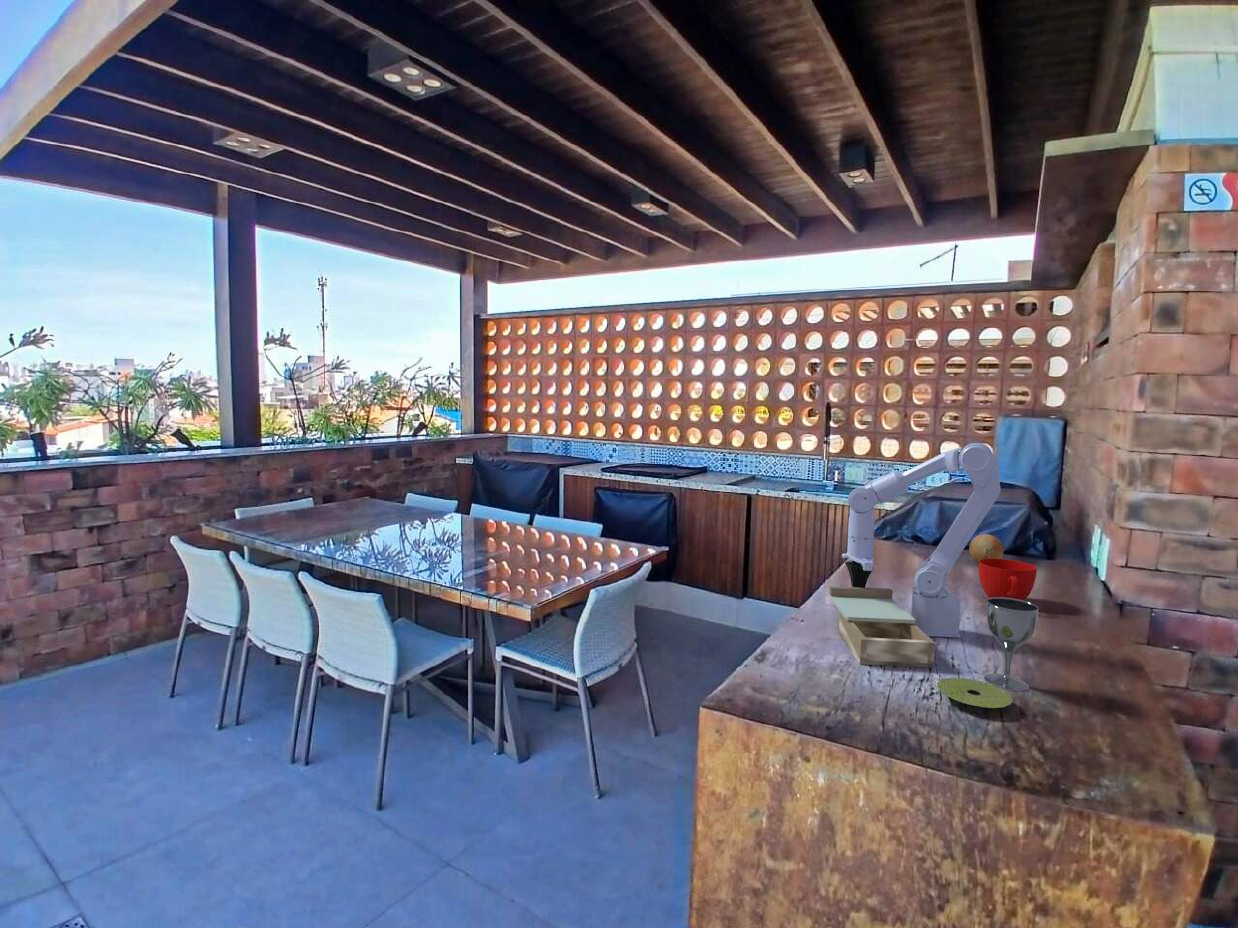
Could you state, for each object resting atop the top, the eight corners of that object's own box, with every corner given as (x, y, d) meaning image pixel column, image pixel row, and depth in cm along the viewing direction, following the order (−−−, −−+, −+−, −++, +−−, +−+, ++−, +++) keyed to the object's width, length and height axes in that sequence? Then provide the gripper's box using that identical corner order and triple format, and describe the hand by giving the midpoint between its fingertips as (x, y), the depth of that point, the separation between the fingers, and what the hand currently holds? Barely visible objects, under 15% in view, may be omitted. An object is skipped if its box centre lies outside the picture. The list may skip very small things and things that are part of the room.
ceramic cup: (983, 609, 156) (986, 571, 155) (972, 591, 171) (975, 556, 170) (1043, 616, 151) (1046, 577, 150) (1027, 597, 166) (1030, 561, 166)
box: (903, 637, 136) (905, 615, 135) (933, 667, 120) (935, 642, 119) (838, 634, 137) (839, 612, 137) (859, 663, 121) (861, 639, 121)
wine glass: (1016, 695, 109) (1022, 613, 107) (972, 677, 116) (977, 600, 114) (1041, 686, 112) (1047, 607, 111) (997, 670, 119) (1003, 594, 118)
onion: (975, 567, 198) (977, 536, 197) (963, 559, 208) (965, 530, 207) (1008, 568, 197) (1010, 538, 196) (994, 561, 206) (996, 532, 205)
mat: (981, 723, 99) (982, 712, 98) (921, 693, 109) (922, 683, 109) (1026, 710, 103) (1027, 699, 103) (965, 683, 113) (966, 672, 113)
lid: (889, 600, 145) (890, 588, 145) (915, 623, 129) (916, 610, 129) (829, 597, 147) (829, 586, 146) (847, 620, 131) (847, 607, 130)
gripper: (835, 530, 153) (833, 583, 155) (851, 542, 139) (848, 601, 140) (864, 531, 153) (862, 584, 154) (883, 543, 138) (880, 602, 140)
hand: (857, 592), depth 147 cm, fingers closed
